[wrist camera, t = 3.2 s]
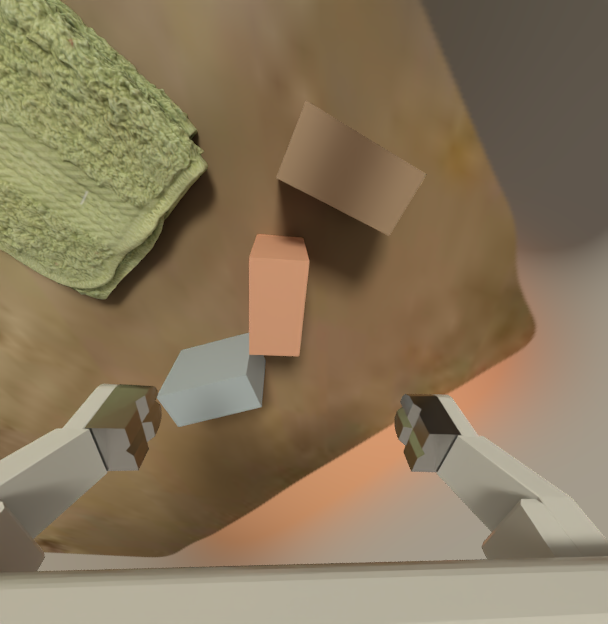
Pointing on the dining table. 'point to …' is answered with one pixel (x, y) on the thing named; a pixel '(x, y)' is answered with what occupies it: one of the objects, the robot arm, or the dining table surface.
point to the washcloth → (83, 150)
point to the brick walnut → (348, 170)
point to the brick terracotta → (277, 294)
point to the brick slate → (213, 381)
